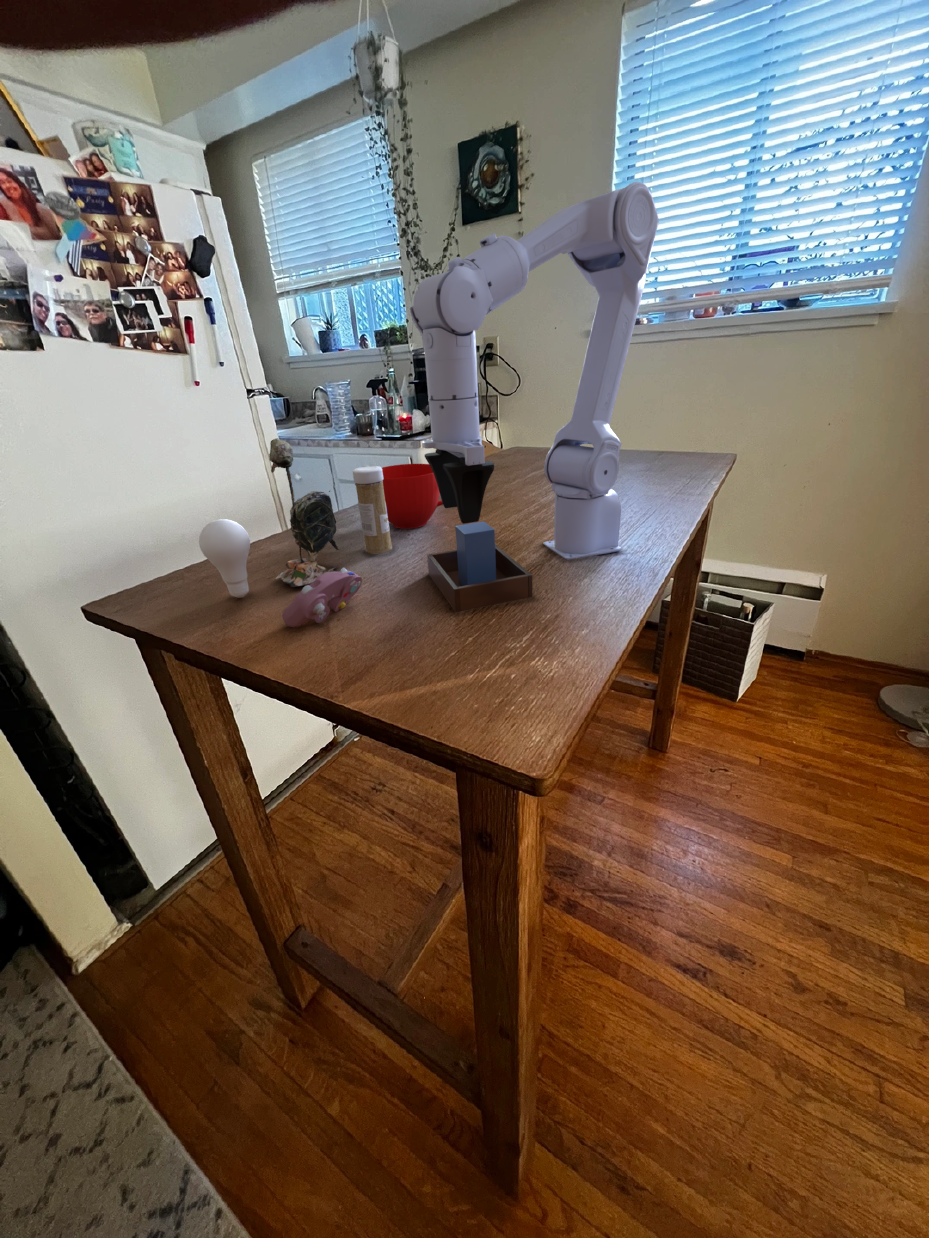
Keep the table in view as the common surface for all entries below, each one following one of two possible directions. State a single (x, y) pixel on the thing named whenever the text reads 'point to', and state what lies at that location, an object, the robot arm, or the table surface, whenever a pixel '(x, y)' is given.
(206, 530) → the lightbulb
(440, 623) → the table surface
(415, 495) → the ceramic cup
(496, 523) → the table surface
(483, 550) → the peg
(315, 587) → the video game controller
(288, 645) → the table surface
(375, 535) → the sprinkles bottle
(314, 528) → the ostrich figurine
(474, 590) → the box
